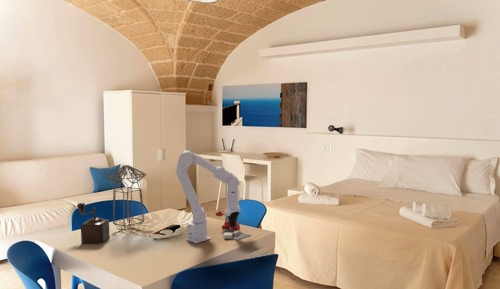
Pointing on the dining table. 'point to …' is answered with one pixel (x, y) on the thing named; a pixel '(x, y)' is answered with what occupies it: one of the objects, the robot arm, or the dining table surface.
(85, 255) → the dining table surface
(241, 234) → the mat
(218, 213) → the red flower sprig
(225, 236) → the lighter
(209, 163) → the robot arm
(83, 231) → the coffee grinder
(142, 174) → the geometric lantern
